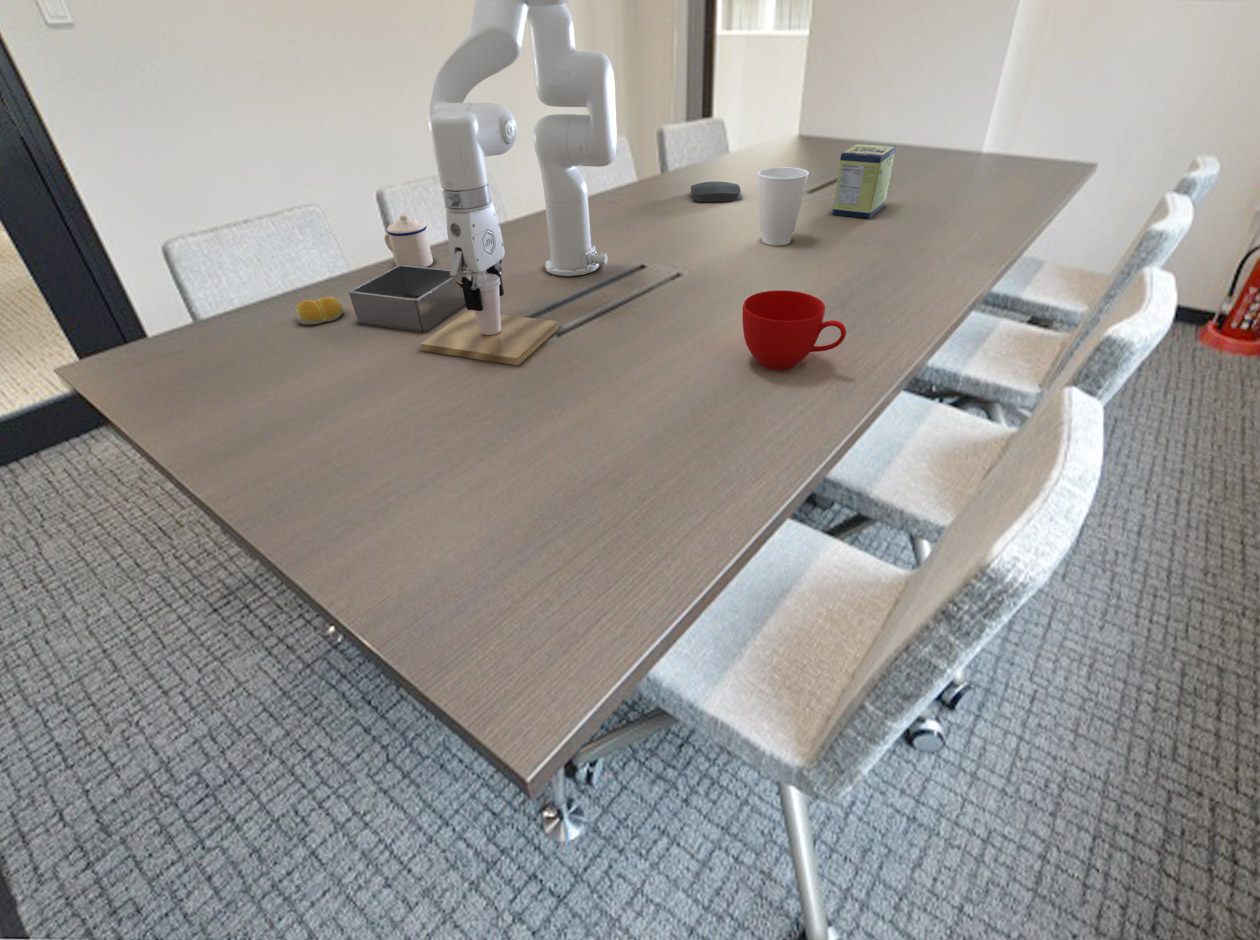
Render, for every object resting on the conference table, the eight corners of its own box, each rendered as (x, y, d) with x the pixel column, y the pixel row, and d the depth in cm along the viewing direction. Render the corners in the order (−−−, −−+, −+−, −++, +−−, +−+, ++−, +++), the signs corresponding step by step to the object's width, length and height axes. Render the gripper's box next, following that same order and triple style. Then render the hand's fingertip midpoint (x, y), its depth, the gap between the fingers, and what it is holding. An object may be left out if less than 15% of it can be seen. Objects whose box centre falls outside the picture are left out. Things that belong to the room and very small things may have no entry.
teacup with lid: (441, 260, 157) (431, 211, 150) (417, 272, 151) (405, 221, 144) (403, 255, 162) (391, 207, 155) (378, 267, 155) (364, 217, 148)
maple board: (558, 328, 122) (558, 321, 122) (518, 365, 111) (517, 358, 110) (469, 316, 129) (468, 309, 128) (422, 351, 117) (420, 343, 116)
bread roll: (348, 318, 130) (342, 299, 128) (302, 329, 127) (295, 310, 124) (339, 305, 136) (333, 287, 134) (294, 316, 132) (288, 297, 130)
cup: (747, 246, 158) (752, 176, 148) (758, 232, 166) (763, 165, 157) (795, 250, 154) (804, 179, 144) (804, 235, 163) (812, 167, 153)
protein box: (885, 205, 182) (896, 145, 173) (869, 219, 172) (881, 156, 163) (848, 201, 187) (858, 142, 178) (831, 214, 177) (840, 153, 167)
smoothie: (500, 338, 116) (487, 261, 107) (467, 337, 117) (452, 260, 108) (513, 324, 120) (501, 249, 112) (481, 322, 122) (467, 248, 113)
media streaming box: (741, 201, 191) (742, 191, 189) (692, 203, 191) (693, 193, 190) (735, 189, 203) (736, 179, 201) (689, 191, 203) (690, 181, 201)
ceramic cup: (825, 392, 99) (835, 332, 93) (726, 368, 107) (729, 312, 101) (850, 358, 108) (860, 302, 102) (756, 339, 116) (761, 285, 110)
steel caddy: (469, 301, 135) (464, 271, 131) (424, 332, 123) (416, 300, 119) (406, 293, 140) (399, 264, 136) (357, 323, 128) (347, 291, 124)
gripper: (457, 213, 97) (478, 323, 108) (513, 186, 110) (526, 287, 121) (416, 210, 99) (440, 318, 110) (475, 183, 112) (492, 283, 123)
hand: (485, 301), depth 115 cm, fingers closed on smoothie, 6 cm apart
